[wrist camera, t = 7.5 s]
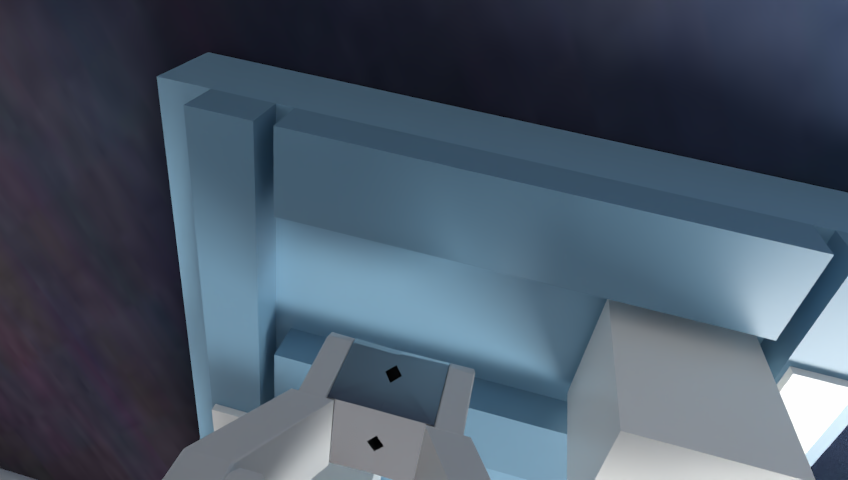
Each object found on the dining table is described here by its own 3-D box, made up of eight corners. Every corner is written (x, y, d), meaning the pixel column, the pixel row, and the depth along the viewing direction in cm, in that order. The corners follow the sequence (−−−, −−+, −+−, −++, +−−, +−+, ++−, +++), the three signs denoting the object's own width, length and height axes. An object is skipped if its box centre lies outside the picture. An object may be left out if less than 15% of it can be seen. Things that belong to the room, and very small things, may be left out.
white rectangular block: (608, 296, 12) (620, 430, 9) (754, 333, 12) (816, 483, 9) (567, 392, 14) (567, 531, 11) (694, 426, 13) (730, 579, 10)
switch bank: (208, 51, 13) (118, 94, 11) (928, 210, 12) (1034, 306, 9) (239, 518, 24) (199, 596, 22) (611, 632, 23) (616, 730, 20)
